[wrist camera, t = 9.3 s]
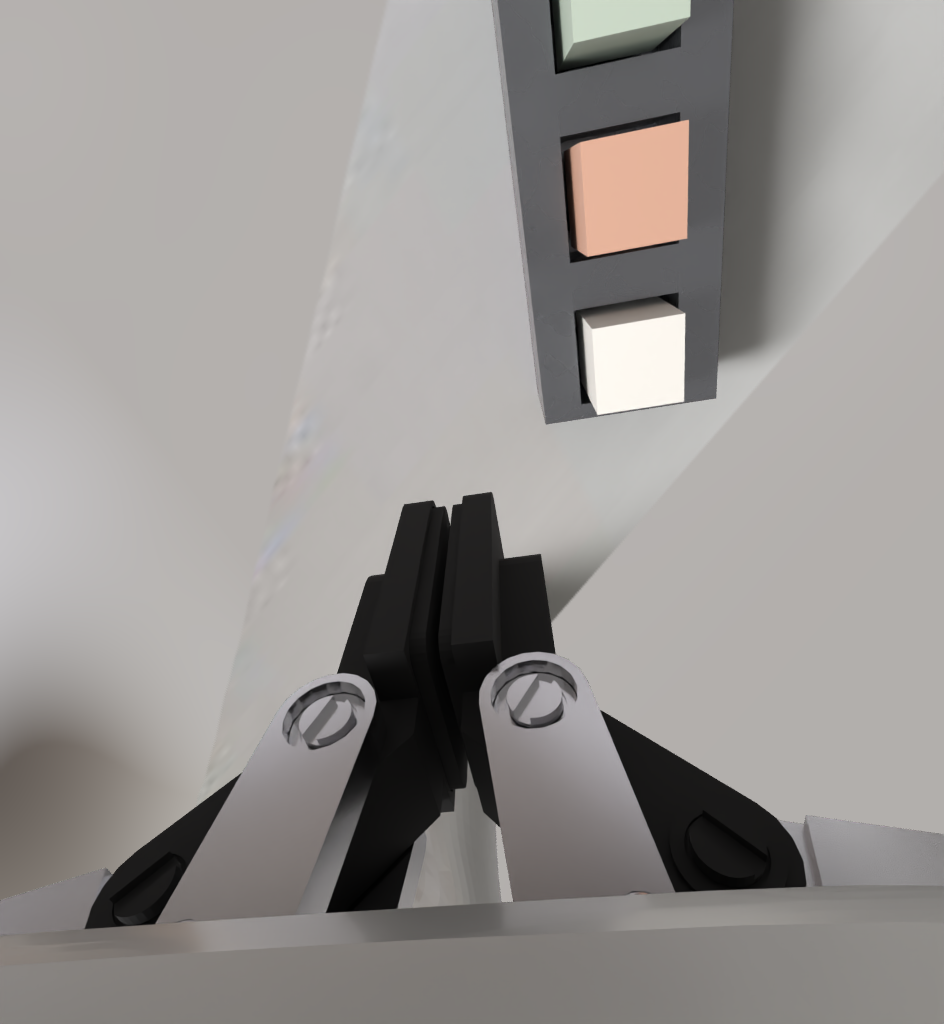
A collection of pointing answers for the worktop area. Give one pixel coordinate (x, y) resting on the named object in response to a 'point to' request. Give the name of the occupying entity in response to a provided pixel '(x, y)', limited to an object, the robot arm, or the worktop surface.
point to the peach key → (628, 189)
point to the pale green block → (612, 28)
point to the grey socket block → (543, 193)
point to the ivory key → (632, 354)
